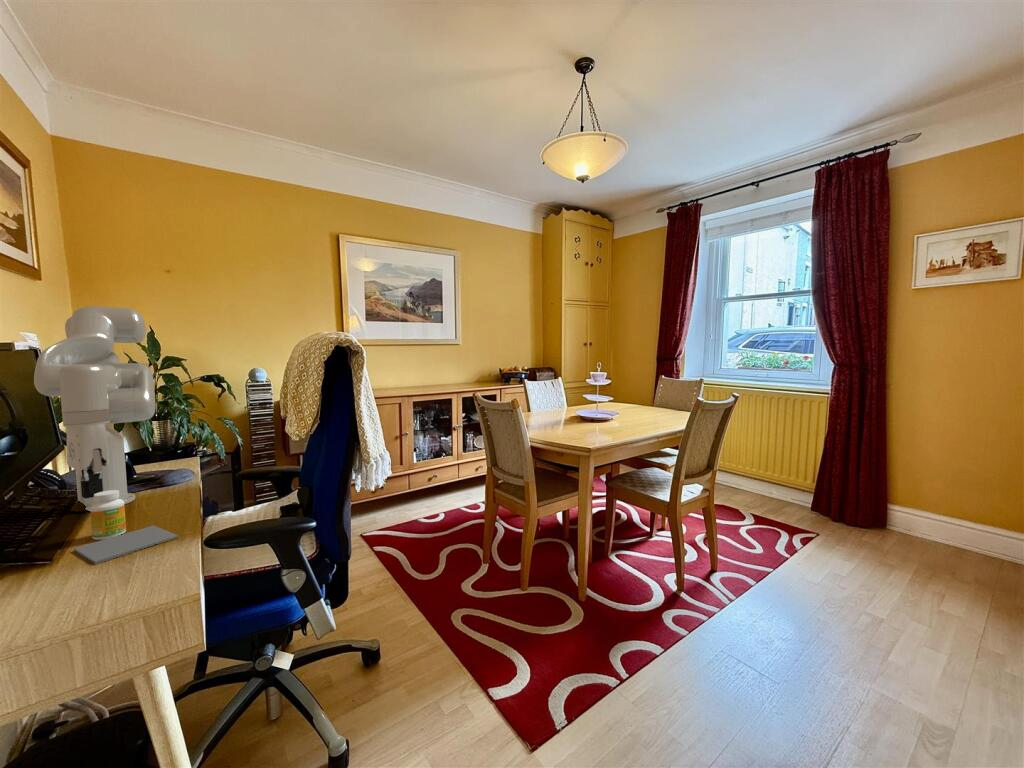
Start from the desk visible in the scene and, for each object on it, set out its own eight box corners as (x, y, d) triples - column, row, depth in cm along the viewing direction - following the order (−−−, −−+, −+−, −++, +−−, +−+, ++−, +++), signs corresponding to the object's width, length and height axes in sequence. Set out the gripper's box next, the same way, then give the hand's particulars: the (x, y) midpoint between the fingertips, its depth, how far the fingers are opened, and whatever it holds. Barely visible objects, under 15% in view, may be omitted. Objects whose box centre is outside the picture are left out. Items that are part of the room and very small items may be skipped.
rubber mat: (74, 551, 83) (73, 548, 83) (154, 527, 94) (153, 525, 94) (95, 564, 77) (95, 561, 77) (178, 538, 88) (177, 535, 88)
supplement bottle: (105, 541, 87) (102, 497, 87) (85, 539, 88) (81, 496, 88) (132, 530, 93) (129, 489, 92) (113, 529, 94) (110, 488, 93)
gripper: (52, 418, 94) (59, 496, 95) (74, 422, 87) (81, 506, 88) (97, 414, 100) (102, 487, 101) (121, 417, 93) (126, 496, 94)
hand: (92, 496), depth 95 cm, fingers closed
